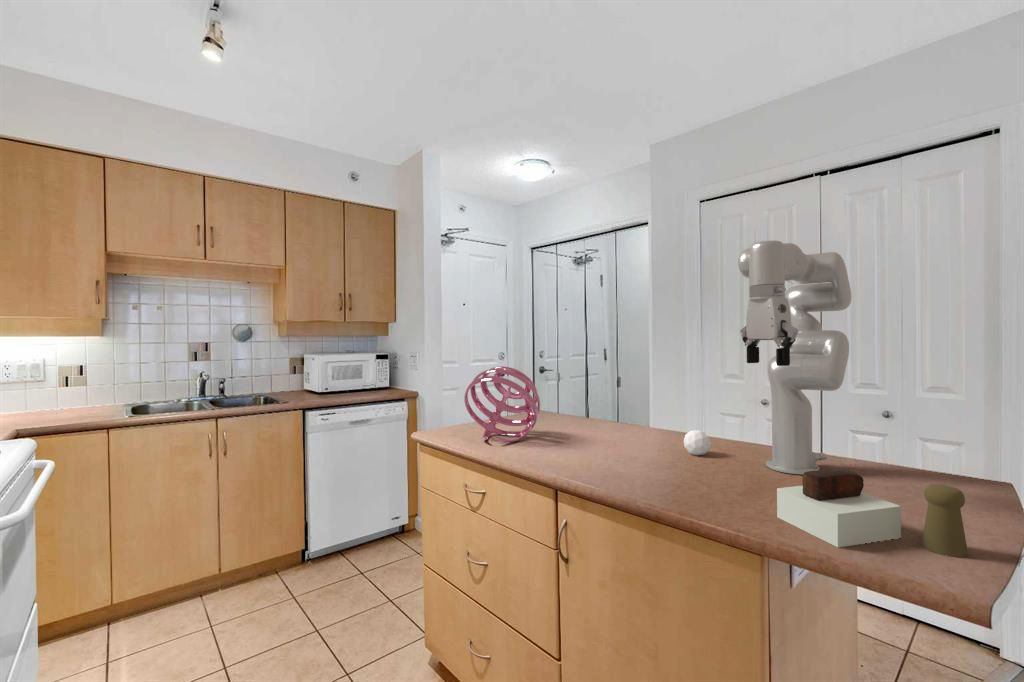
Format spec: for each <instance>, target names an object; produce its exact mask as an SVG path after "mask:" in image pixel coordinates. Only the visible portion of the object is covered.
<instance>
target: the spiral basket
mask: <svg viewBox="0 0 1024 682" xmlns="http://www.w3.org/2000/svg"><path fill="white" fill-rule="evenodd" d="M492 373H494V375H493V376H492V375H490V374H492ZM503 374H505V375H508V376H511V377H513V378H516V379H518V380H519V381H520V382H522V383H523V384H525V385H524V386H525V387H523V386H521V385H519V384H518V383H517V382H515V381H512V380H510V379H508V378H505V377H502V375H503ZM489 382H490V383H493V385H494V387H495V389H496V391H498V392H499V393H500V395H502V398H501V400H498V399H497V398H496V397H495V396H494V395H493V394H492V392H491V391H490V390H489V387H488V383H489ZM477 384H480V389H481V392H482V393H483V396H484V397H485V398H486V400H488V402H490V403H491V404H492V405H493V406H494V407H495V410H494V411H493V412H492V411H491V410H489V409H488V408H487V407H486V406H485V405H484V404H483V403H482V401H481V400H480V399H479V397H478V395H477V391H476V385H477ZM503 385H505V386H507V387H508V388H507V389H506V387H504V386H503ZM511 389H513V390H514V391H516V392H513V391H511ZM469 391H470V397H471V399H472V401H473V403H474V404H475V406H476V408H477V409H478V410H479V411H480V412H481V413H482V414H483V415H485V416H486V417H487V418H488V419H489V421H488V422H486V421H484V420H483V419H481V418H480V417H479V416H478V415H477V413H475V411H474V410H473V409H472V407H471V404H470V402H469V398H468V397H469V395H468V394H469ZM464 392H465V393H464V405H465V408H466V411H467V413H468V414H469V416H470V417H471V418H472V419H473V421H474V422H475V423H477V424H478V425H479V426H481V427H482V428H483V429H484V432H483V435H482V440H483V441H484V442H485V441H486V440H487V437H489V436H491V434H496V435H498V434H505V435H513V436H512V437H517V438H514V439H506V438H501V437H498V436H494V439H495V440H497V441H498V442H499V441H500V442H502V443H507V442H512V443H515V442H514V441H516V442H518V441H520V440H522V439H523V438H525V436H526V435H528V433H529V432H531V431H532V429H534V427H535V426H536V423H537V421H538V418H539V413H540V409H541V400H540V395H539V393H538V389H537V388H536V385H535V384H534V381H533V380H532V379H531V378H530V377H529V376H528V375H527V374H525V373H524V372H522V371H520V370H519V369H516V368H513V367H510V366H495V367H491V368H489V369H486V370H483V371H482V372H480V373H478V374H477V375H476V376H475V377H474V378H473V380H472V381H471V383H469V384H468V386H467V388H466V390H465V391H464ZM531 392H532V393H533V397H532V395H531V394H530V393H531ZM508 399H510V400H511V399H512V400H522V399H523V400H524V403H525V404H524V405H520V406H517V405H516V406H515V405H509V404H508V403H507V400H508ZM502 412H508V413H511V414H524V413H526V414H527V416H526V418H523V419H509V418H505V417H502V416H501V415H502V414H501V413H502ZM497 424H501V425H505V426H510V427H521V426H525V428H524V429H522V430H517V431H512V430H510V431H509V430H503V429H500V428H497V427H496V425H497ZM489 438H490V437H489ZM487 441H488V440H487ZM487 441H486V442H487Z"/></svg>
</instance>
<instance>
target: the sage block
mask: <svg viewBox="0 0 1024 682" xmlns="http://www.w3.org/2000/svg"><path fill="white" fill-rule="evenodd" d="M776 509H777V510H776V513H777V514H776V515H777V516H776V518H778V519H780V520H781V521H784V522H786V523H788V524H790V525H792V526H794V527H796V528H798V529H800V530H802V531H804V532H806V533H808V534H810V535H812V536H814V537H816V538H818V539H820V540H822V541H824V542H826V543H828V544H830V545H832V546H834V547H836V548H845V547H851V546H857V545H859V544H860V545H865V543H867V544H872V543H871V542H874V543H878V542H877V541H880V542H885V541H884V540H887V541H892V540H891V539H894V540H900V539H899V538H901V539H902V505H899V504H897V503H893V502H890V501H887V500H885V499H882V498H880V497H876V496H873V495H870V494H868V493H865V492H862V491H861V495H860V496H853V497H845V498H838V499H828V500H816V499H814V498H811V497H809V496H806V495H804V494H803V485H795V486H786V487H777V488H776ZM882 540H883V541H882Z"/></svg>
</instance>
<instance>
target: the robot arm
mask: <svg viewBox="0 0 1024 682" xmlns="http://www.w3.org/2000/svg"><path fill="white" fill-rule="evenodd" d="M737 265H738V269H739V271H740V274H741V275H742V276H743V277H744V278H747V279H748V281H749V282H748V284H749V285H748V288H749V292H748V293H749V295H748V297H749V298H748V299H749V300H748V303H747V309H746V321H745V322H746V324H745V326H743V328H741V329H740V330H739V331H740V335H741V337H742V339H741V340H742V341H743V342H744V347H745V348H746V363H747V364H759V362H760V347H759V346H758V345H759V343H760V341H774V342H775V344H776V346H777V348H776V350H775V352H776V353H775V355H774V356H773V357H771V358H770V359H769V361H768V364H767V375H768V379H769V387H770V391H771V393H770V394H771V441H772V443H771V447H772V449H771V450H772V453H771V454H772V455H771V456H772V458H769V459H767V460H766V463H765V464H766V465H765V466H766V467H767V468H769V469H770V470H772V471H777V472H781V473H785V474H790V475H802V476H803V473H804V472H807V471H820V466H819V465H818V464H816V463H817V462H818V461H826V460H827V454H826V453H825V452H819V453H816V452H814V451H813V406H812V403H811V401H810V399H809V398H808V397H807V396H806V394H805V393H804V392H803V391H805V390H807V391H808V390H809V391H823V392H825V391H827V392H828V391H829V392H831V391H837V390H839V389H840V388H841V386H842V385H843V382H844V378H845V374H846V369H847V365H848V362H849V361H848V360H849V355H850V343H849V339H848V337H847V335H846V334H845V333H844V332H843V331H839V330H835V329H832V330H831V329H830V330H826V329H825V330H823V327H822V326H823V325H822V324H821V323H820V321H819V320H818V319H817V318H816V317H815V316H813V315H812V314H810V313H813V312H814V313H815V312H816V313H817V312H839V311H844V310H846V309H847V308H849V306H850V305H851V304H852V303H851V302H852V291H851V290H852V289H851V284H850V279H849V275H848V271H847V266H846V263H845V260H844V258H843V257H842V256H841V254H839V253H838V252H836V251H829V252H828V251H827V252H821V253H812V254H805V253H804V252H803V250H802V249H801V247H799V246H798V245H797V244H795V243H790V242H787V243H783V242H782V241H780V240H763V241H758V242H753V243H752V244H750V246H749V248H748V247H747V248H746V249H744V250H742V251H741V253H740V254H739V257H738V261H737ZM786 282H787V283H792V284H793V285H794V286H792V287H789V288H788V289H787V288H786V284H785V283H786ZM802 390H803V391H802Z"/></svg>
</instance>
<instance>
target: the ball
mask: <svg viewBox="0 0 1024 682" xmlns="http://www.w3.org/2000/svg"><path fill="white" fill-rule="evenodd" d="M711 444H712V442H711V440H710V436H708V435H707V433H706V432H705V431H702V430H699V429H694V430H690V431H688V432H687V433H686V434H685V436H684V439H683V446H684V448H685V450H686V451H687V452H688V453H689V454H691V455H694V456H701V455H705V454H706V453H708V452H709V450H710V448H711Z"/></svg>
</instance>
